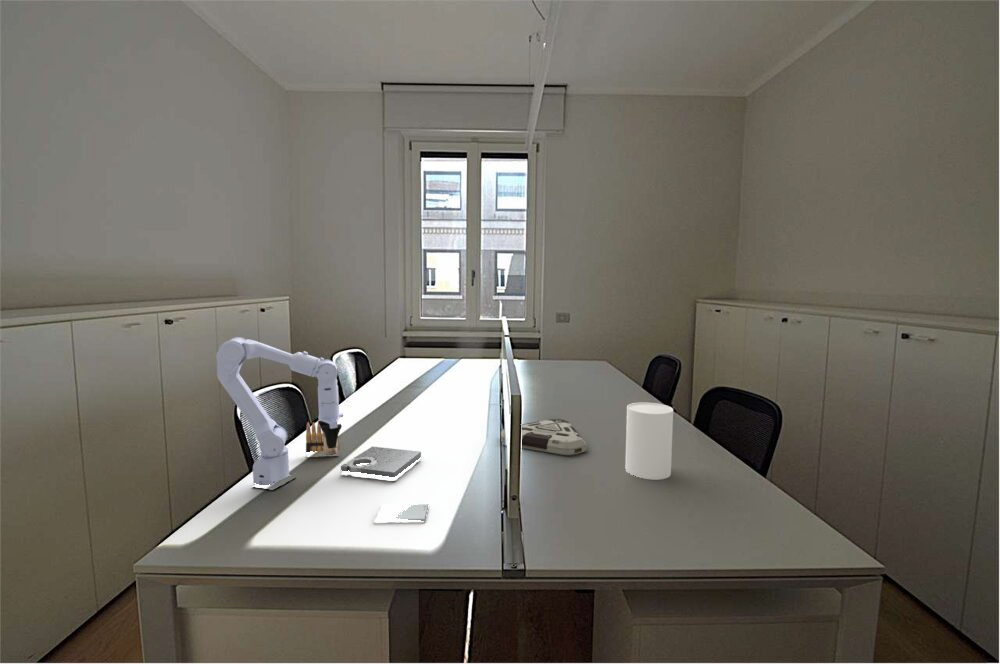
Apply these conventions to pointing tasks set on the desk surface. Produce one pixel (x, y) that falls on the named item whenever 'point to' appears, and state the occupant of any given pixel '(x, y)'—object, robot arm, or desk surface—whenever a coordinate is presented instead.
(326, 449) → the cylinder
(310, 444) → the ammunition clip
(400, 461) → the grey plate with hole
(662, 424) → the canister
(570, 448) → the device
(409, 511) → the hard drive
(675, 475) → the desk surface
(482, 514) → the desk surface
